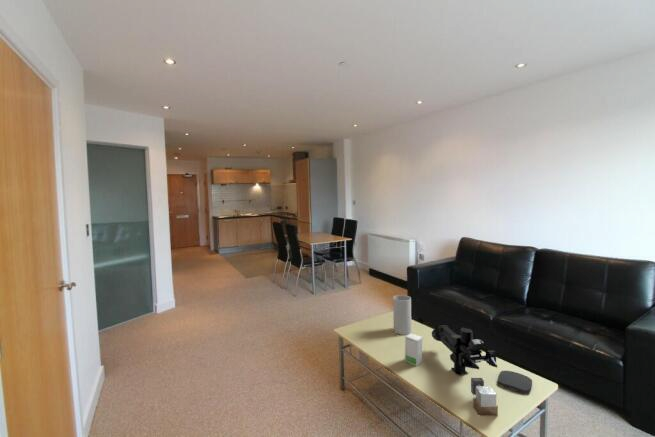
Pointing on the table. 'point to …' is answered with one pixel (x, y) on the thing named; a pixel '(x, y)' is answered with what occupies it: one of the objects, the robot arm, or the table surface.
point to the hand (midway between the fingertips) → (487, 367)
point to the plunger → (476, 384)
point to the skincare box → (413, 349)
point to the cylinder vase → (402, 314)
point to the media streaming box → (515, 381)
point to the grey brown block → (485, 401)
